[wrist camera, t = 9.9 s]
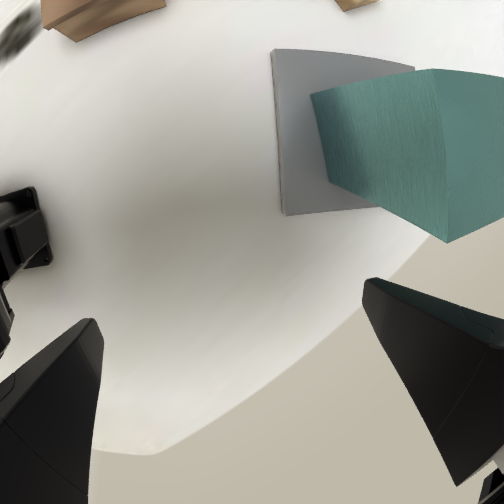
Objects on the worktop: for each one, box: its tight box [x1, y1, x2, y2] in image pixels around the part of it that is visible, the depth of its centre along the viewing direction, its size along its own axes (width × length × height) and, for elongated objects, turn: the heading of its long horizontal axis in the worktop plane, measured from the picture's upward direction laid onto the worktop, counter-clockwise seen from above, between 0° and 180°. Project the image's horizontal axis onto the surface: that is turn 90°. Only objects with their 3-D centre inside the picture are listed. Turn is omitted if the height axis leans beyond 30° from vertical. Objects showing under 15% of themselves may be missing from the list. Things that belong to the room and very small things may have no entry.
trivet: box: [271, 49, 415, 216], centre depth 20 cm, size 12×12×1 cm
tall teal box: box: [310, 69, 504, 243], centre depth 14 cm, size 6×6×12 cm
